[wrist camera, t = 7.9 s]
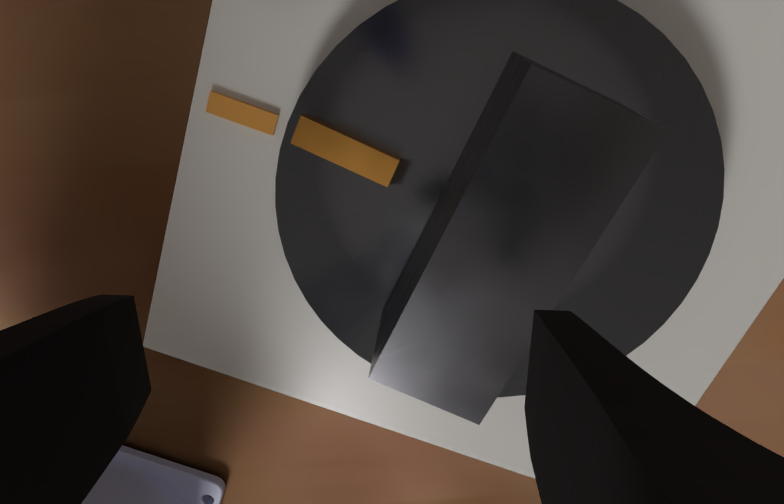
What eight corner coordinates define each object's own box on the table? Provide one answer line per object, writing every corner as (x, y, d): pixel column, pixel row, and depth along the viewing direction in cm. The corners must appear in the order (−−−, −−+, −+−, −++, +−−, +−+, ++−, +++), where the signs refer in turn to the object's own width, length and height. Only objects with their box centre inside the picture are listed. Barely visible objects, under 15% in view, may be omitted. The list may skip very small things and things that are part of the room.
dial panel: (613, 478, 23) (625, 512, 21) (161, 324, 22) (139, 349, 20) (933, -6, 16) (987, -7, 14) (287, -263, 15) (269, -294, 13)
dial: (805, 99, 15) (938, 135, 11) (565, 431, 20) (596, 542, 16) (382, -113, 14) (355, -160, 10) (231, 288, 19) (171, 368, 15)
